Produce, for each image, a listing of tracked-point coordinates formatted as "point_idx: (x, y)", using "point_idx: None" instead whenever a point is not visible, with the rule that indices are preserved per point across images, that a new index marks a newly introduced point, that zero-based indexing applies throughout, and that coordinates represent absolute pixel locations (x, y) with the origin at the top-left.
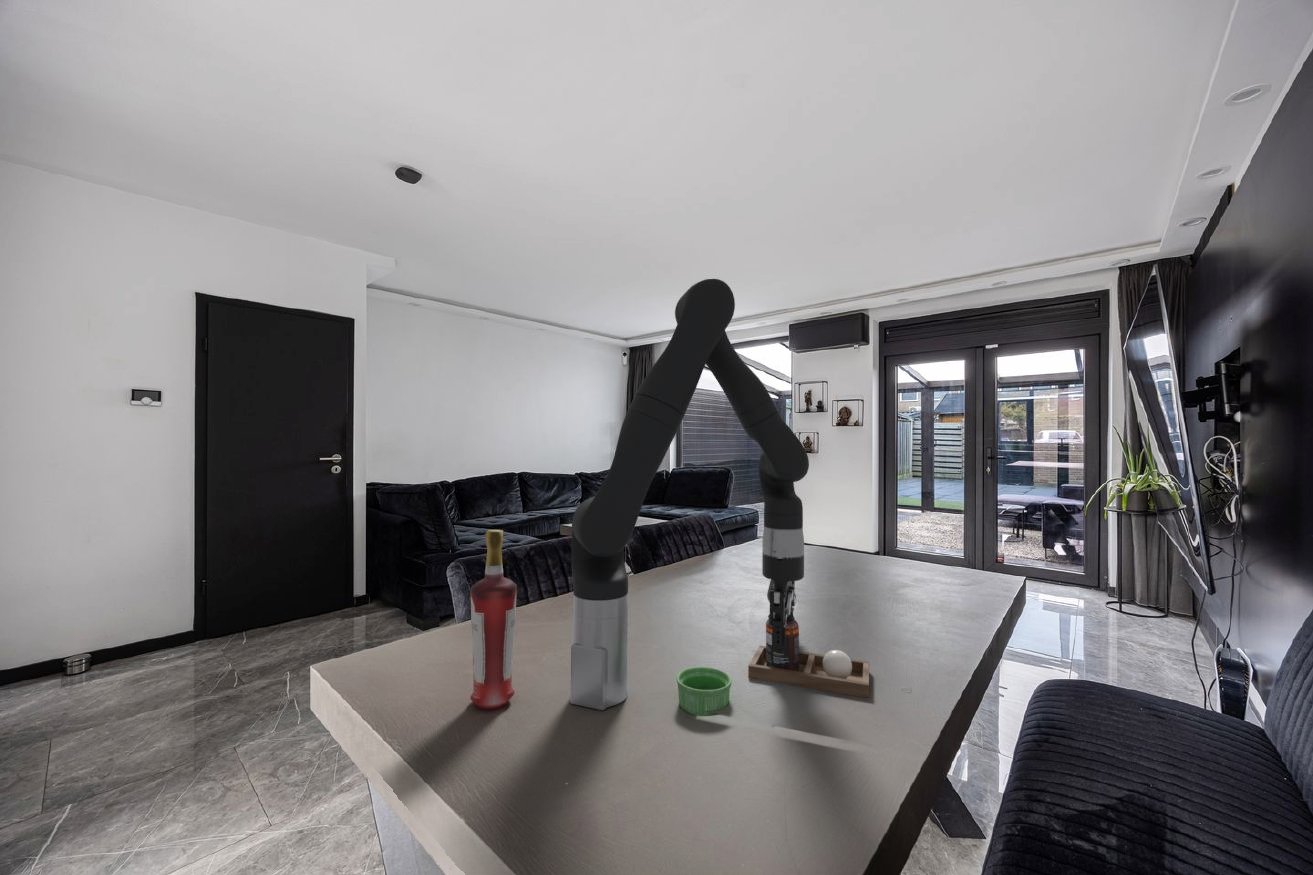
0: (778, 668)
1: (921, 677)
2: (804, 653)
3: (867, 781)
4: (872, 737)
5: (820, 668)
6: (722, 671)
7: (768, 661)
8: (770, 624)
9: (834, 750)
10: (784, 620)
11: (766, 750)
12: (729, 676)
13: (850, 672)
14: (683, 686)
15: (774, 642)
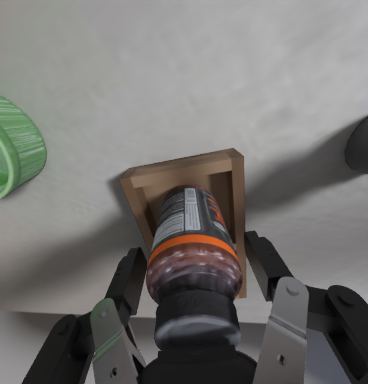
0: (147, 224)
1: (264, 304)
2: (237, 237)
3: (48, 300)
4: None
5: None
6: (8, 168)
7: (165, 202)
8: (57, 325)
9: (65, 281)
10: (89, 359)
11: (4, 244)
12: (6, 190)
13: None
14: None
15: (119, 263)
